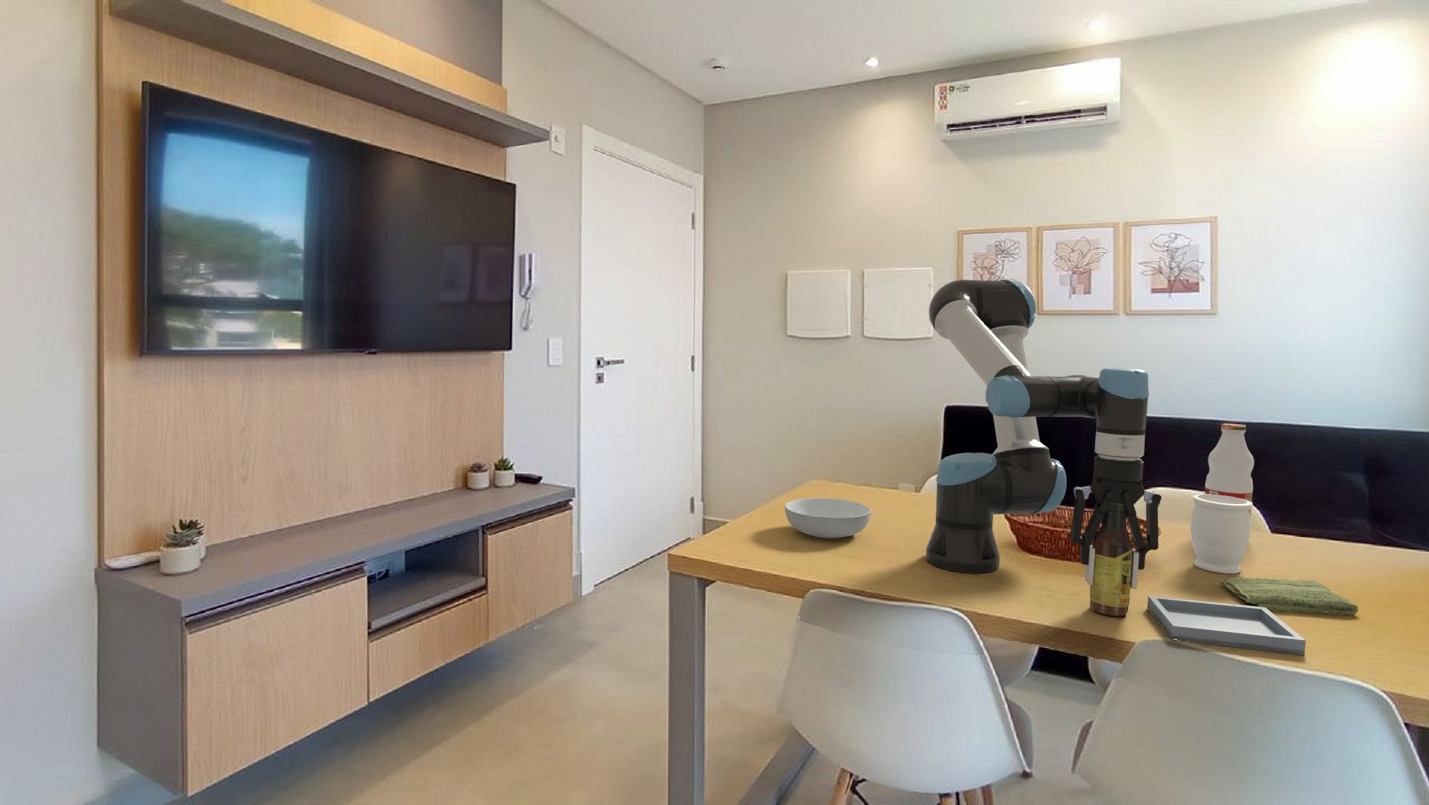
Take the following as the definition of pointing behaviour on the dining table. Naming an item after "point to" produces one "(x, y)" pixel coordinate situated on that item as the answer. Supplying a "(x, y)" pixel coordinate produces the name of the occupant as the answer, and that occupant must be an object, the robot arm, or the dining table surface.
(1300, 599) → the washcloth
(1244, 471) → the fruit juice
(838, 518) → the serving bowl
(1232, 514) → the jar
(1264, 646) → the tray
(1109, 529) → the sauce bottle
